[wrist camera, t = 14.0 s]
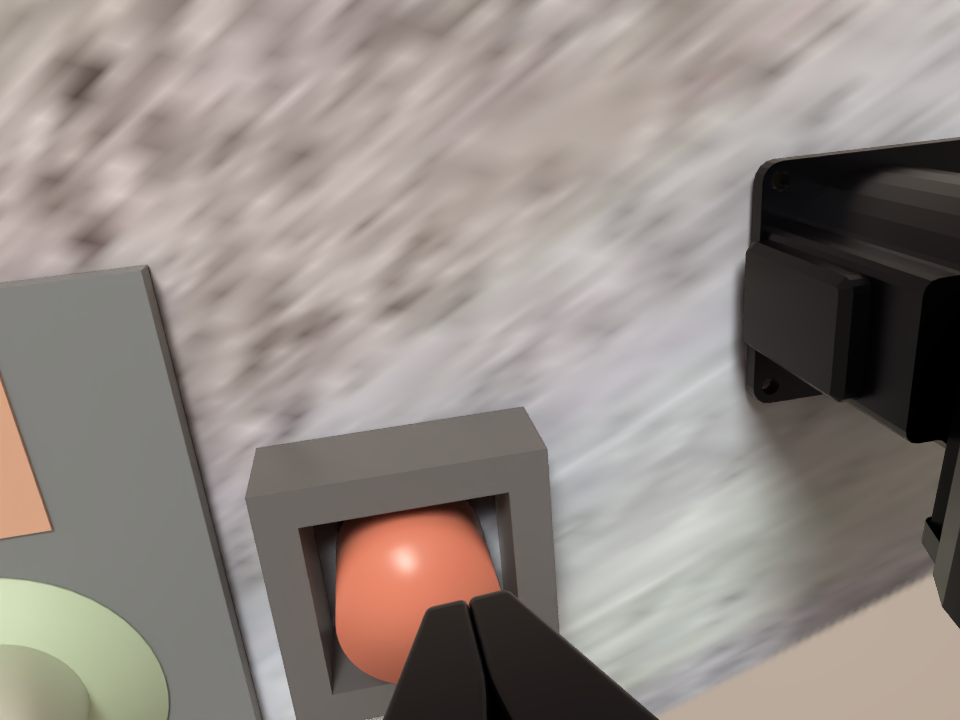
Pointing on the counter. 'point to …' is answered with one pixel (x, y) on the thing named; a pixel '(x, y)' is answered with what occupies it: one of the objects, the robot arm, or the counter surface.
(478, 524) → the button
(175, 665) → the picture board
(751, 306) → the robot arm
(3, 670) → the cream cylinder
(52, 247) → the counter surface
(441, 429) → the button housing
